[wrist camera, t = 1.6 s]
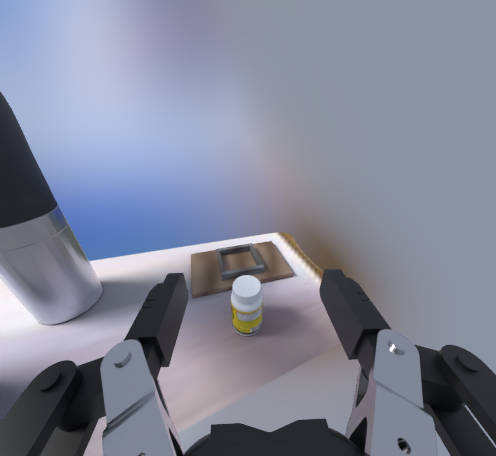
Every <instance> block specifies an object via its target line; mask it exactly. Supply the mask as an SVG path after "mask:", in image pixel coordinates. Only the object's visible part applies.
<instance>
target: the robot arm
mask: <svg viewBox="0 0 496 456" xmlns="http://www.w3.org/2000/svg"><path fill="white" fill-rule="evenodd" d="M0 279H1V280H2V281H3V283H4V284H5V285H6V286H7V287H8V288H9V289H10V290H11V292H12V293H13V294H14V295H15V296H16V297H17V298H18V299H19V300H20V302H21V303H22V304H23V305H24V306H25V307H26V309H27V310H28V311H29V312H30V313H31V314H32V315H33V316H34V317H35V319H36V320H37V321H38V322H39V323H42V324H46V325H51V324H58V323H62V322H65V321H68V320H70V319H73V318H75V317H77V316H79V315H80V314H82V313H84V312H85V311H86V310H88V309H89V308H91V307H92V306H93V305H94V304H95V303H96V302H97V301H98V299H99V298H100V296H101V295H102V292H103V287H102V285H101V283H100V281H99V280H98V278H97V276H96V274H95V272H94V270H93V268H92V266H91V264H90V263H89V261H88V259H87V257H86V255H85V253H84V251H83V250H82V248H81V246H80V244H79V242H78V240H77V239H76V237H75V235H74V233H73V231H72V230H71V228H70V226H69V224H68V222H67V220H66V219H65V217H64V215H63V213H62V211H61V209H60V208H59V206H58V204H57V202H56V200H55V198H54V197H53V194H52V192H51V190H50V188H49V186H48V184H47V182H46V180H45V178H44V176H43V174H42V172H41V170H40V168H39V166H38V164H37V162H36V160H35V158H34V156H33V154H32V152H31V150H30V147H29V145H28V143H27V141H26V139H25V136H24V134H23V132H22V130H21V127H20V125H19V124H18V121H17V119H16V117H15V115H14V113H13V111H12V109H11V107H10V106H9V104H8V102H7V101H6V99H5V98H4V96H3V95H2V93H1V92H0ZM320 297H321V300H322V302H323V304H324V306H325V308H326V311H327V313H328V315H329V317H330V319H331V322H332V324H333V326H334V328H335V330H336V333H337V335H338V337H339V339H340V341H341V343H342V346H343V348H344V350H345V352H346V354H347V356H348V358H349V360H351V359H358V361H359V363H360V365H361V366H360V368H359V373H358V379H357V385H356V391H355V397H354V403H353V408H352V412H351V416H350V418H349V421H348V425H347V429H346V434H345V436H344V435H342V434H341V433H339V432H337V431H335V430H333V429H331V428H328V425H327V422H326V419H310V420H297V421H295V422H293V423H291V424H288V425H286V426H284V427H282V428H280V429H278V430H275V431H273V432H266V431H262V430H259V429H256V428H253V427H250V426H246V425H244V424H240V423H235V424H217V425H211V433H210V434H208V435H206V436H204V437H203V438H201V439H199V440H198V441H197V442H195V443H194V444H193V445H192V446H191V447H190V448H189V449H188V450H187V451H186V452H185V453H184V451H183V448H182V445H181V442H180V439H179V436H178V434H177V431H176V429H175V426H174V424H173V421H172V419H171V416H170V413H169V410H168V407H167V404H166V401H165V398H164V395H163V393H162V390H161V387H160V384H159V381H158V378H157V377H158V374H159V371H160V368H161V367H169V364H170V360H171V357H172V354H173V350H174V347H175V343H176V340H177V336H178V333H179V329H180V326H181V323H182V319H183V316H184V312H185V309H186V305H187V301H188V291H187V287H186V283H185V278H184V275H183V273H169V274H168V275H167V276H166V278H165V281H164V283H158V284H157V285H156V286H155V287H154V288H153V289H152V290H151V291H150V292H149V294H148V296H147V298H146V301H145V302H144V304H143V305H142V309H140V311H139V313H138V315H137V317H136V319H135V321H134V322H133V324H132V326H131V328H130V330H129V332H128V334H127V336H126V338H125V339H124V341H123V342H121V343H119V344H117V345H115V346H114V347H113V348H112V349H111V350H110V351H109V352H108V353H107V354H106V355H105V356H104V357H102V358H99V359H96V360H94V361H91V362H88V363H85V364H82V365H79V366H76V365H75V363H74V362H72V361H69V360H66V361H61V362H58V363H55V364H53V365H51V366H50V367H48V368H46V369H45V370H44V371H42V372H41V373H40V374H39V375H38V376H37V377H36V378H35V379H34V380H33V381H32V382H31V383H30V384H29V386H28V387H27V388H26V390H25V391H24V392H23V394H22V395H21V396H20V398H19V399H18V400H17V402H16V403H15V404H14V406H13V407H12V408H11V410H10V411H9V412H8V414H7V415H6V416H5V418H4V419H3V420H2V422H1V423H0V456H83V454H84V452H85V450H86V447H87V445H88V443H89V440H90V438H91V436H92V433H93V431H94V429H95V426H96V424H97V422H98V419H99V418H102V417H104V416H106V419H107V427H106V429H105V430H104V431H103V436H102V445H103V455H104V456H438V453H437V444H436V434H435V430H436V431H437V433H438V435H439V436H440V438H441V440H442V442H443V443H444V445H445V447H446V448H447V450H448V452H449V453H450V455H451V456H496V448H495V447H494V445H493V444H492V443H491V441H490V440H489V439H488V437H487V436H486V435H485V433H484V432H483V430H482V429H481V428H480V427H479V425H478V424H477V422H476V421H475V420H474V418H473V417H472V416H471V414H470V413H469V412H468V410H467V409H466V408H465V405H467V407H468V408H469V409H470V411H471V412H472V413H473V415H474V416H475V417H476V418H477V420H478V421H479V423H480V424H481V425H482V427H483V428H484V429H485V431H486V432H487V433H488V435H489V436H490V437H491V439H492V440H493V441H494V443H495V444H496V375H495V374H494V373H493V372H492V371H491V370H490V369H489V368H488V367H487V366H486V364H485V363H483V362H482V361H481V360H480V359H479V358H478V357H476V356H475V355H474V354H472V353H471V352H469V351H467V350H465V349H463V348H460V347H458V346H454V345H446V346H444V347H442V349H441V350H440V351H436V350H432V349H429V348H424V347H421V346H417V345H414V344H413V343H412V342H411V341H410V340H409V339H408V338H407V337H405V336H404V335H402V334H401V333H399V332H397V331H394V330H392V329H391V328H390V327H389V325H388V324H387V323H386V321H385V320H384V319H383V317H382V316H381V314H380V313H379V312H378V310H377V309H376V307H375V306H374V305H373V303H372V302H371V301H370V299H369V298H368V297H367V295H366V294H365V292H364V291H363V290H362V288H361V287H360V286H359V284H357V283H356V282H355V281H353V280H352V279H351V278H346V276H345V275H344V274H343V272H342V271H341V270H340V269H325V271H324V273H323V277H322V281H321V285H320Z"/></svg>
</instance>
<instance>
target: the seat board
mask: <svg viewBox="0 0 496 456" xmlns="http://www.w3.org/2000/svg"><path fill="white" fill-rule="evenodd" d="M244 275H250V276H253V277H255V278H257V279H258V280H259V281H260V283H264V282H269V281H274V280H278V279H283V278H288V277H292V276H293V272H292V270H291V269H290V268H289V266H288V265H287V263H286V262H285V260H284V259H283V257H282V256H281V254H280V253H279V252H278V250H277V249H276V247H275V246H274V244H273V243H272V241H269V242H263V243H257V244H252V243H251V244H245V245H239V246H233V247H227V248H220V249H216V250H214V251H208V252H202V253H195V254H191V276H192V296H193V298H194V297H199V296H204V295H208V294H213V293H218V292H222V291H227V290H232V286H233V282H234V281H235V280H236V279H237V278H238V277H240V276H244Z"/></svg>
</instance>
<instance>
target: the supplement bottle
mask: <svg viewBox="0 0 496 456" xmlns="http://www.w3.org/2000/svg"><path fill="white" fill-rule="evenodd" d="M231 309H232V322H233V327H234V329H235V330H236V332H237V333H239V334H241V335H243V336H251V335H254V334H256V333H257V332H258V331H259V330H260V328H261V325H262V311H263V294H262V292H261V283H260V281H259V280H258V279H257V278H255V277H253V276H250V275H244V276H240V277H238V278H237V279H236V280H235V281H234V282H233V286H232V294H231Z"/></svg>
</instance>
